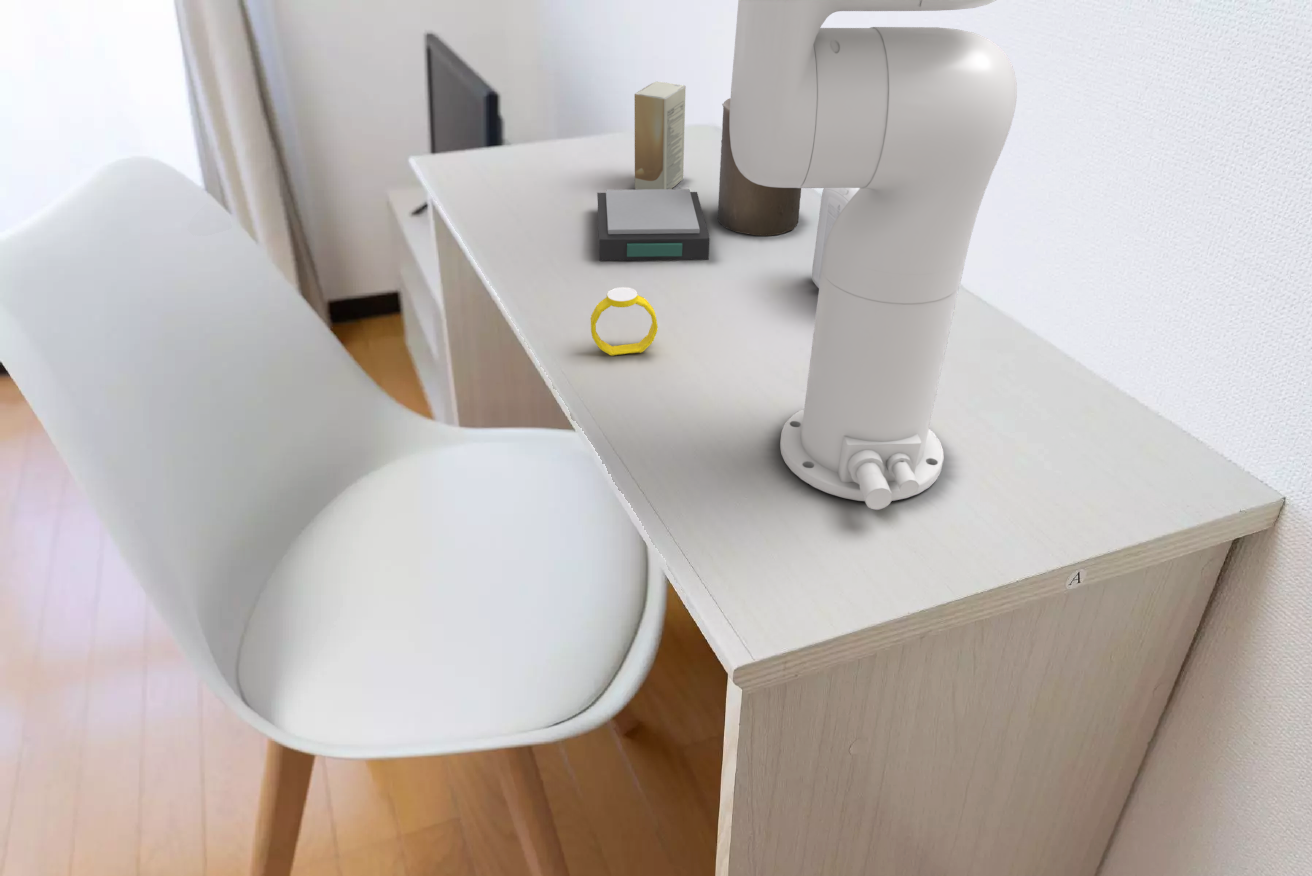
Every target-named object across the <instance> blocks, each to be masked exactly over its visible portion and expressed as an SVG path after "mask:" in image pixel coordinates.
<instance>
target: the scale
mask: <svg viewBox="0 0 1312 876" xmlns="http://www.w3.org/2000/svg"><path fill="white" fill-rule="evenodd" d="M596 193H597V194H596V195H597V230H598V233H597V234H598V258H599V259H598V260H599V261H600V262H601V261H602V262H603V261H605V262H606V261H607V262H608V261H688V260H689V261H693V260H695V261H697V260H700V261H701V260H709V259H710V240H711V239H710V235H709V231H708V227H707V223H706V220H705V215H704V213H703V209H702V204H701V202H700V197H699V194H698V192H697V191H691V190H690V188H685V189H684V188H677V189H676V188H672V189H644V190H637V189H605V192H596Z"/></svg>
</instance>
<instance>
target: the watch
mask: <svg viewBox="0 0 1312 876" xmlns="http://www.w3.org/2000/svg"><path fill="white" fill-rule="evenodd" d="M634 305H637V306H639V307H642V308H644V309H645V311H646V312H647V313H648V314H649V315H650V319H651V325H650V328H649V329H648V332H647V335H645V336H644V337H643V338H642V339H641V340H640V341H639V342H635V343H625V344H621V345H620V344H619V345H611V344H610V343H607V342H606V341H604V340H602V339H601V337H600V334H599V333H598V332H597V322H598V321H599V318H600V317H601V315H602V313H603V312H605V311H606V310H607V309H608V308H610V307H611V306H612V307H614V308H628V307H632V306H634ZM658 328H659V326H658V321H657V314H656V311H655V309H654V307H653V306H652V305H651V303H650V302H649V301H648V300H647V299H646V298H645V297H644V296H642V295H639V294H638V292H637V290H636V289H634V288H632V287H627V286H619V287H615V288H612V289H610V290H608V291H607V293H606V297H605V298H603V299H601V301H599V302H598V303H597V304H596V306H595V307H594V309H593V311H592V314H591V315H590V332H591V337H592V339H593V341H594V343H595V344H596V346H597V348H598V349H599V350H600V351H602V352H604V353H606V354H608V355H609V356H611V357H612V356H618V355H619V356H620V355H626V354H636V353H637V354H638V353H640V354H641V353H643V352H645V351H646V350H647V349H648V348H649V347H650V346H651V345H652V344H653V343H654V341H655V339H656V336H657V333H658V331H659V329H658Z"/></svg>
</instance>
